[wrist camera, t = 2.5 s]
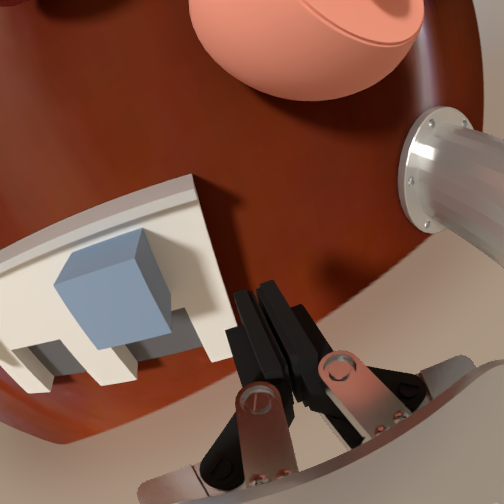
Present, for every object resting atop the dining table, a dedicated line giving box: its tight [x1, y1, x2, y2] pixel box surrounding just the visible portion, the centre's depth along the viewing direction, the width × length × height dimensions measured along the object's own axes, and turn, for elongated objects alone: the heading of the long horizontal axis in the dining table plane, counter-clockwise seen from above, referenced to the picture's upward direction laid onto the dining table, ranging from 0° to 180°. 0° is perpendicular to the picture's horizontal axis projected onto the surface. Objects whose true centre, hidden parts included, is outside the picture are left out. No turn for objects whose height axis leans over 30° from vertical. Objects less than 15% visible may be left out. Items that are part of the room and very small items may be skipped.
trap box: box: [0, 174, 238, 393], centre depth 17 cm, size 25×14×6 cm, turn 101°
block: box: [53, 228, 172, 350], centre depth 14 cm, size 5×5×4 cm
